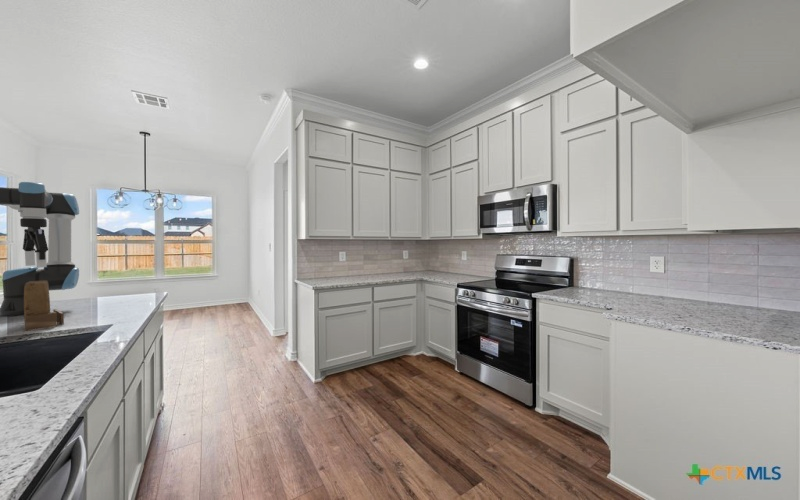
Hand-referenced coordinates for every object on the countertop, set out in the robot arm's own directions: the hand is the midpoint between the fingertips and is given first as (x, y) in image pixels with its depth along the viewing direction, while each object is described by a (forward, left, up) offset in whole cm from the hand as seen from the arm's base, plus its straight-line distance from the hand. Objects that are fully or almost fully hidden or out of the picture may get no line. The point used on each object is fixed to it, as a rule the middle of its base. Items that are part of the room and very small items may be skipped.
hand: (36, 266), depth 138 cm
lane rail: (-1, +7, -27) cm, 27 cm away
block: (0, 0, -27) cm, 27 cm away
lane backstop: (+6, -1, -27) cm, 27 cm away
